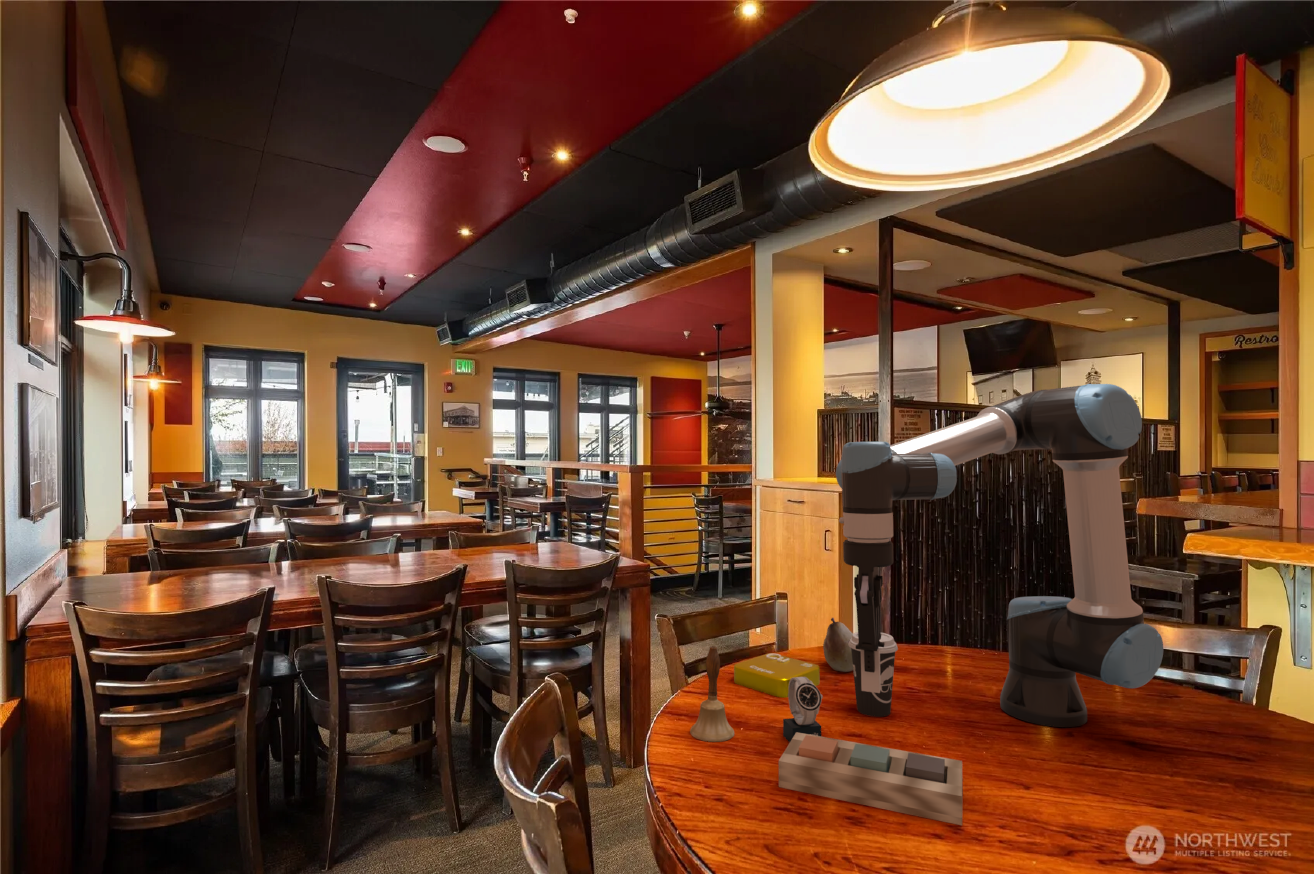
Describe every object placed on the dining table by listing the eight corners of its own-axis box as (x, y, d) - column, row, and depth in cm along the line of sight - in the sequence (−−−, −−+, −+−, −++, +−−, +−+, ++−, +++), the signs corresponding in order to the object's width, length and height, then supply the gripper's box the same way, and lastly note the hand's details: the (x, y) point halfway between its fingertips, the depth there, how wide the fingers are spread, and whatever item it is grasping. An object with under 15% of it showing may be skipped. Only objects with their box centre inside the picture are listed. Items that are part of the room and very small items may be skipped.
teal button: (889, 775, 105) (889, 749, 105) (886, 789, 100) (886, 763, 100) (855, 768, 107) (855, 743, 107) (850, 782, 102) (850, 756, 102)
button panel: (962, 786, 104) (962, 760, 104) (962, 825, 93) (961, 796, 93) (796, 755, 114) (796, 732, 115) (778, 786, 104) (778, 760, 104)
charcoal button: (945, 785, 101) (944, 759, 102) (944, 801, 97) (943, 773, 97) (908, 778, 104) (908, 752, 104) (906, 793, 99) (905, 766, 99)
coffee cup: (891, 702, 139) (891, 630, 140) (904, 720, 130) (903, 643, 130) (845, 701, 140) (844, 629, 141) (854, 718, 131) (853, 641, 131)
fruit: (827, 660, 168) (826, 613, 169) (865, 665, 165) (865, 616, 165) (820, 672, 159) (819, 622, 159) (861, 677, 155) (860, 626, 156)
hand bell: (735, 725, 128) (734, 641, 128) (733, 743, 119) (733, 654, 120) (692, 722, 129) (692, 639, 129) (687, 740, 121) (687, 652, 121)
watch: (797, 750, 116) (796, 687, 117) (779, 732, 124) (779, 672, 125) (826, 747, 118) (826, 684, 118) (807, 729, 125) (807, 670, 126)
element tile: (730, 683, 152) (730, 662, 153) (770, 669, 163) (770, 649, 163) (784, 700, 142) (784, 678, 142) (823, 684, 152) (823, 663, 152)
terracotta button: (838, 765, 108) (837, 740, 108) (832, 779, 103) (832, 753, 104) (806, 759, 110) (805, 734, 111) (799, 772, 106) (798, 747, 106)
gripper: (849, 533, 112) (852, 674, 112) (836, 543, 100) (839, 701, 100) (896, 535, 109) (900, 680, 108) (888, 545, 97) (892, 708, 97)
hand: (871, 690), depth 104 cm, fingers closed
